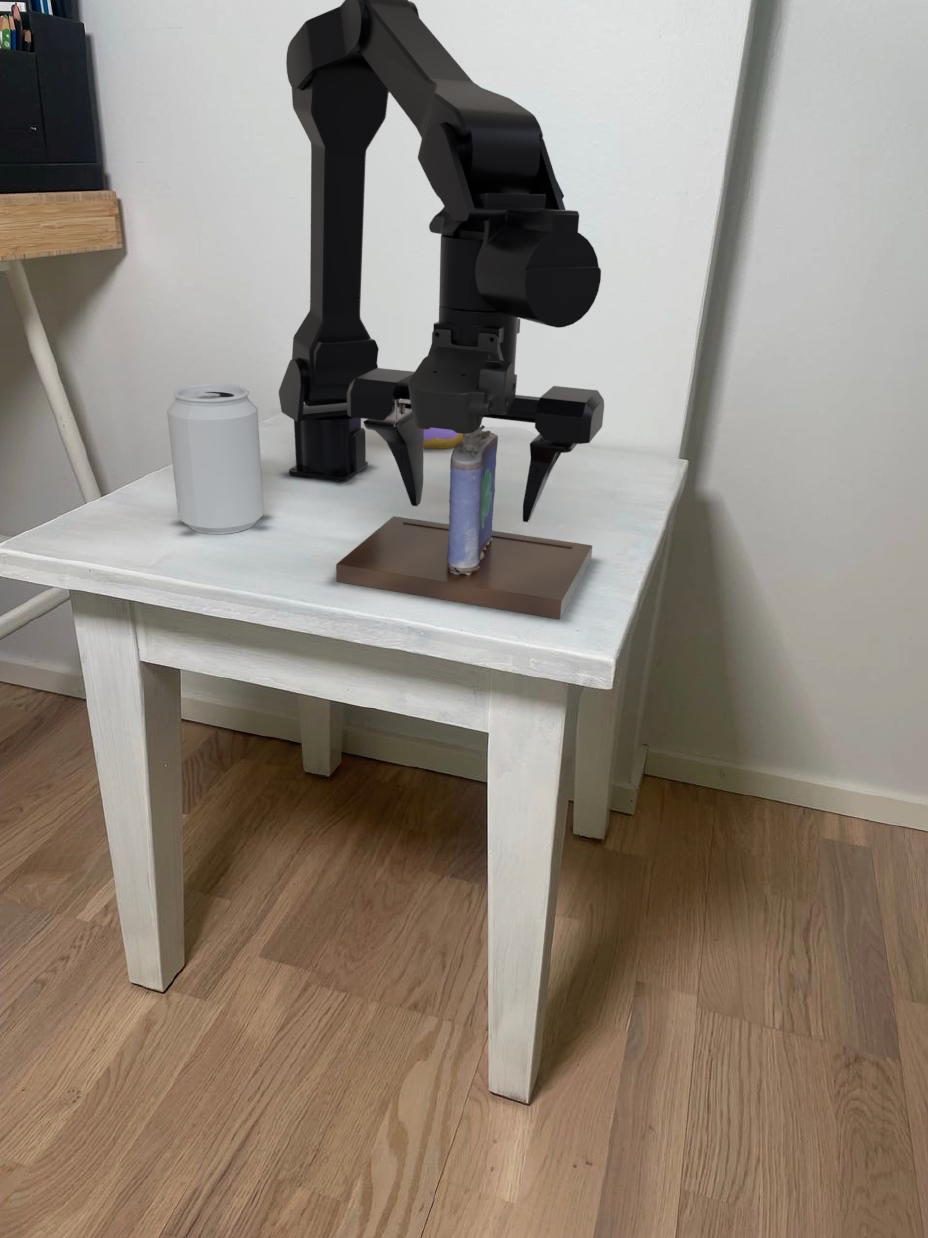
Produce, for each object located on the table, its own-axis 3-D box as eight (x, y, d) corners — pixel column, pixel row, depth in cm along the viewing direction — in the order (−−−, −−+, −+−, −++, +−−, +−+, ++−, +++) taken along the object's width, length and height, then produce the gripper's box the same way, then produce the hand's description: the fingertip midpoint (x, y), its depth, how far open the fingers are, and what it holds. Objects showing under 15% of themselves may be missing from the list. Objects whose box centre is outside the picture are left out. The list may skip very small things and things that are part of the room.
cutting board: (336, 581, 72) (335, 562, 72) (393, 531, 83) (393, 514, 82) (559, 619, 68) (561, 599, 67) (591, 561, 78) (592, 543, 77)
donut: (380, 444, 107) (382, 401, 105) (401, 441, 115) (404, 401, 114) (464, 452, 105) (467, 409, 104) (479, 448, 114) (483, 408, 112)
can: (279, 515, 85) (272, 385, 80) (236, 542, 79) (225, 402, 74) (209, 504, 87) (198, 376, 82) (161, 530, 81) (146, 392, 76)
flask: (475, 577, 70) (480, 439, 65) (437, 573, 71) (440, 436, 66) (496, 534, 78) (501, 409, 74) (462, 531, 79) (465, 406, 74)
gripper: (310, 309, 62) (318, 529, 68) (584, 333, 57) (563, 567, 64) (375, 292, 71) (376, 486, 78) (615, 311, 66) (594, 516, 73)
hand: (470, 512), depth 73 cm, fingers open, 9 cm apart
